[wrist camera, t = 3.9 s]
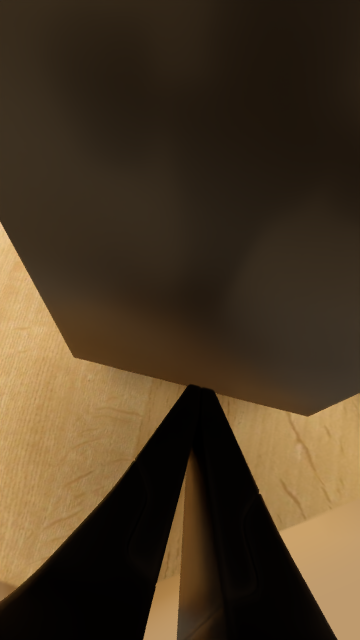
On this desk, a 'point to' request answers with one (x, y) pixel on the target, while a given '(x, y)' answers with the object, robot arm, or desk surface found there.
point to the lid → (191, 187)
